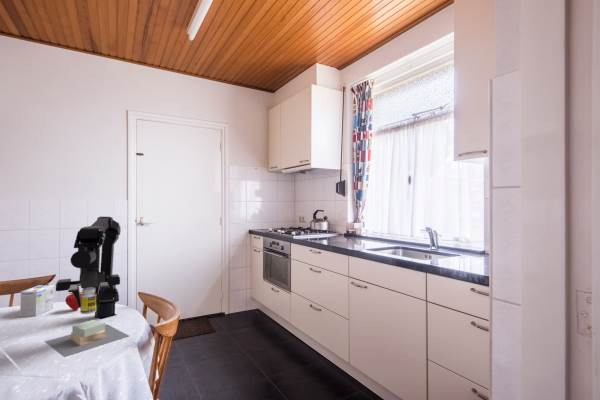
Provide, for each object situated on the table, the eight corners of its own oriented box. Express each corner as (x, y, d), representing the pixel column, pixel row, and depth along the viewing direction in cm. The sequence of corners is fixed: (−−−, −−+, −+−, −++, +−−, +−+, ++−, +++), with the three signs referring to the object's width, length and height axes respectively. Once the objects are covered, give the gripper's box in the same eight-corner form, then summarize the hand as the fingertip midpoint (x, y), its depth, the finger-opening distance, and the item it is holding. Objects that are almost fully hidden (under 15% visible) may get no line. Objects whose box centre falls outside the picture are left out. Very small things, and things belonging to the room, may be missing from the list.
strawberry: (64, 310, 140) (65, 288, 140) (84, 307, 145) (85, 285, 145) (65, 314, 136) (66, 291, 136) (86, 310, 140) (87, 288, 141)
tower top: (92, 326, 116) (92, 319, 116) (104, 330, 113) (104, 323, 113) (72, 333, 109) (72, 326, 109) (84, 337, 106) (84, 329, 106)
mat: (107, 325, 124) (107, 324, 124) (129, 337, 114) (129, 336, 114) (44, 342, 108) (44, 341, 108) (64, 358, 98) (64, 357, 98)
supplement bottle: (88, 315, 108) (88, 290, 108) (76, 313, 109) (77, 289, 109) (99, 310, 113) (100, 287, 113) (88, 309, 114) (89, 286, 114)
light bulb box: (38, 308, 142) (39, 284, 142) (53, 308, 143) (54, 284, 143) (19, 316, 131) (20, 291, 132) (35, 316, 132) (36, 291, 132)
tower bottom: (95, 332, 117) (96, 325, 117) (105, 337, 112) (105, 330, 112) (70, 339, 110) (71, 332, 110) (80, 345, 105) (80, 338, 105)
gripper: (55, 269, 99) (53, 318, 99) (122, 264, 110) (120, 308, 110) (57, 263, 109) (56, 308, 108) (119, 259, 119) (118, 300, 119)
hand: (88, 306), depth 111 cm, fingers closed on supplement bottle, 5 cm apart
